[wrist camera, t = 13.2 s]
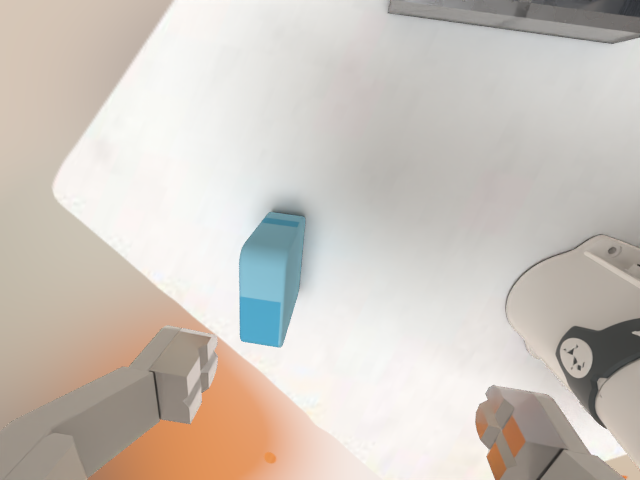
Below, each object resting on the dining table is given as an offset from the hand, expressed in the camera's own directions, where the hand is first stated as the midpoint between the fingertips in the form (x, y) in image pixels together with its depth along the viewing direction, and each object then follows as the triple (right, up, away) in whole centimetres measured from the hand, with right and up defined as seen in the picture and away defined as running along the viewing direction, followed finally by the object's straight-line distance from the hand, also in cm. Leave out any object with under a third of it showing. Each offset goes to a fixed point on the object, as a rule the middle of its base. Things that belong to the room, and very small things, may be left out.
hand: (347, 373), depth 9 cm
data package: (-5, +2, +32) cm, 33 cm away
